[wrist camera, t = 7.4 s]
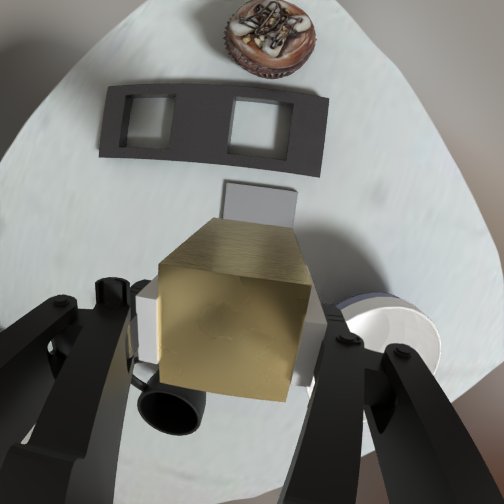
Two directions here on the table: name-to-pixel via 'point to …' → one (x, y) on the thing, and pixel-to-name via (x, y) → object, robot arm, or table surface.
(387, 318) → the bowl
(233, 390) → the tan wooden peg
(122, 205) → the table surface
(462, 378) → the table surface
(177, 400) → the mug
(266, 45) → the cupcake
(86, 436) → the robot arm
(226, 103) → the dark grey peg board
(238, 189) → the pad
